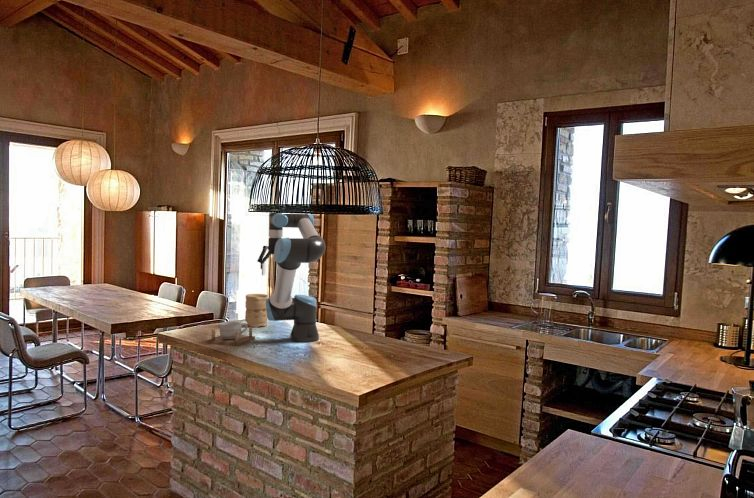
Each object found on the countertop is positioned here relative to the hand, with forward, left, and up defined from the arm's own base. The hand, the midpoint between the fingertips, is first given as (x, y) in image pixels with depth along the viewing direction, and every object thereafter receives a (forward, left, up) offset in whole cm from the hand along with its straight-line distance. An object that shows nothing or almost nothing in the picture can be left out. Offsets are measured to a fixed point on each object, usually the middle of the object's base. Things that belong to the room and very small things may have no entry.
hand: (274, 275), depth 305 cm
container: (+18, -14, -32) cm, 39 cm away
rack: (+10, +27, -32) cm, 43 cm away
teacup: (+9, +27, -30) cm, 42 cm away
